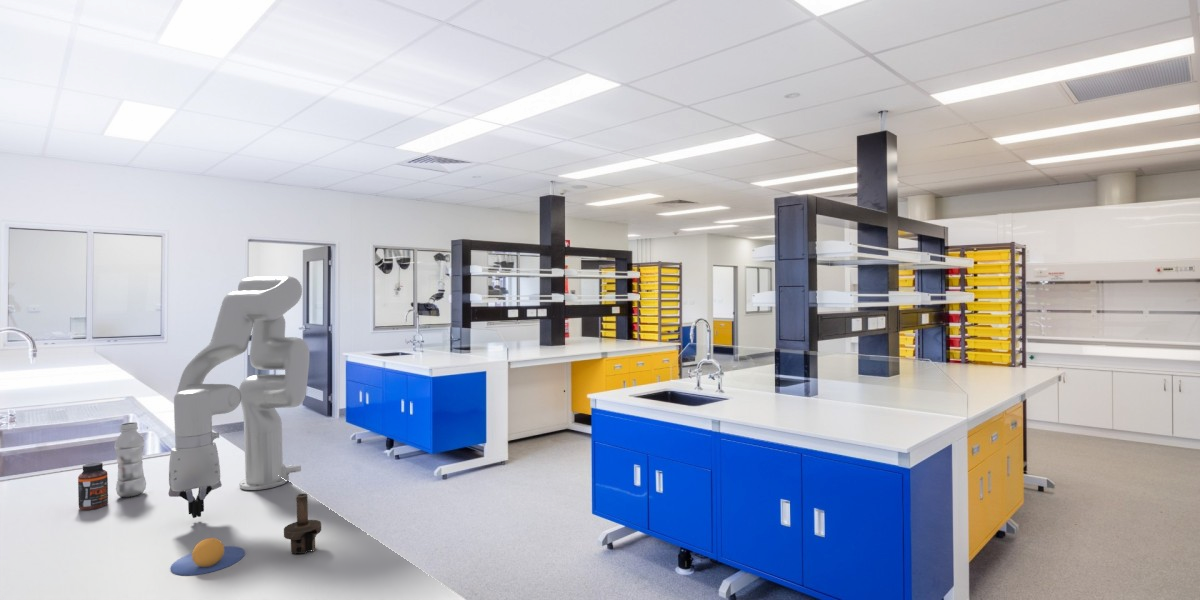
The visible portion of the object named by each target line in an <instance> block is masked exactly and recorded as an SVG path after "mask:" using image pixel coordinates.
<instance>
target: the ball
mask: <svg viewBox="0 0 1200 600" xmlns="http://www.w3.org/2000/svg"><path fill="white" fill-rule="evenodd" d="M224 546H225V545H224V544H223V542H222V541H221V540H219V539H218V538H215V537H208V538H207V537H206V538H205V539H203V540H200V541H199V542H198V543H197V544H196V545H195V546H194V548H193V551H192V559H193V561H194V563H195V564H196V565H198V566H200V567H210V566H213V565H215V564H216V563H217V562H219V561H220V559H221V558H222V556H223V554H224Z"/></svg>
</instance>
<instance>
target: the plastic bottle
mask: <svg viewBox="0 0 1200 600" xmlns="http://www.w3.org/2000/svg"><path fill="white" fill-rule="evenodd" d="M119 427H120V429H119V432H121V433H120V434H119V436H118V437H117V438H116V440H115V441H114V451H115V456H116V462H117V481H116V484H115V487H116V488H115V491H116V494H117V496H118V497H120V498H127V497H129V498H130V496H131V497H134V496H139V495H140V494H143V493H144V492H145V490H147V489H146V488H147V480H146V477H145V473H144V468H143V467H144V466H143V463H144V462H143V460H144V459H143V457H144V454H143V453H144V447H145V440H144V437H143V436H142V435H141V434H140V433H139V432H138V430H139V427H138V421H130V422H124V423H120V426H119Z"/></svg>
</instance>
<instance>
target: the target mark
mask: <svg viewBox="0 0 1200 600" xmlns="http://www.w3.org/2000/svg"><path fill="white" fill-rule="evenodd" d="M223 546H224V554H223V556H222V558H221V559H220V561H219V562H217V563H216V564H215V565H213V566H210V567H200V566H198V565H196V564H195V563H194V561H193V559H192V553H193V552H192V553H189V554H186V555H184V556H181V557H180V558H178V559H177V560H175V561H173V562H172V564H171V566H170V568H169V569H170V572H171V573H172V574H174V573H175V575H178V576H196V575H197V576H198V575H203V574H204V575H205V574H209V573H212V572H216V571H219V570H222V569H226V568H229V567H230V566H232V565H234V564H236V563H238V562H239V561H241V559H243V558H244V557H245V555H246V551H245V549H244V548H242V547H239V546H234V545H223Z"/></svg>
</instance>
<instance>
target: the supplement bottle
mask: <svg viewBox="0 0 1200 600" xmlns="http://www.w3.org/2000/svg"><path fill="white" fill-rule="evenodd" d="M103 467H104V465H103V462H102V461H99V462H98V461H97V462H88V463H86V464H83V465H82V472H81V473H80V474H79V475H78V477H77V486H78V489H77V490H78V494H77V495H78V496H77V497H78V509H79V510H80V511H81V510H82V511H91V510H96V509H102V508H103V507H105V506H107V505H108V503H109V479H108V471H107V470H105V469H103Z"/></svg>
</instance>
